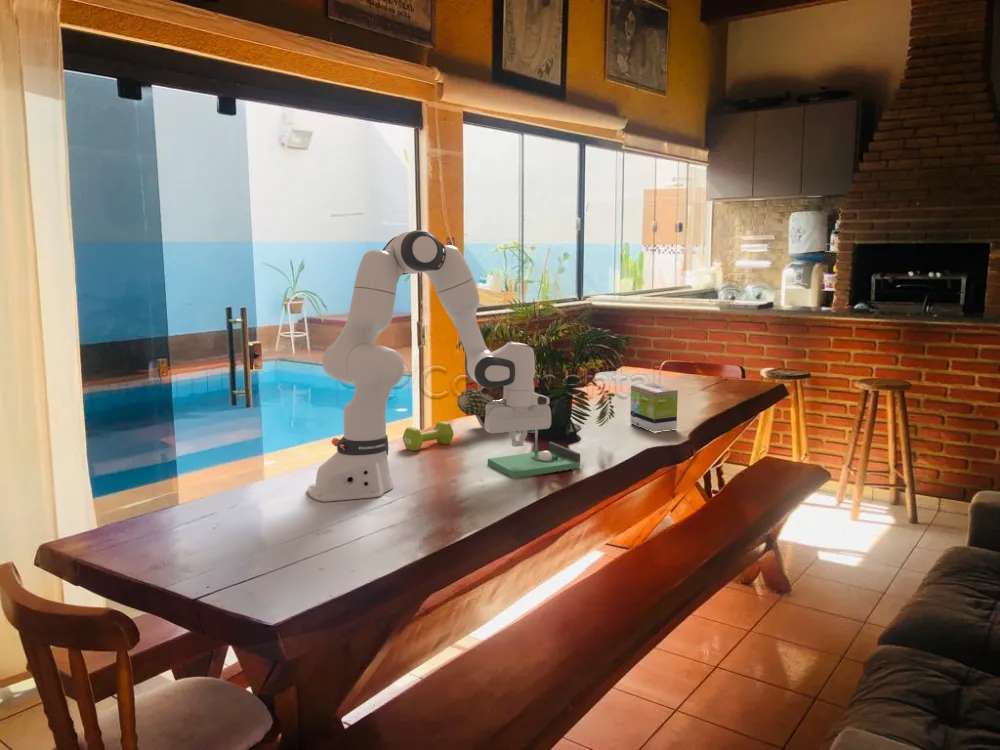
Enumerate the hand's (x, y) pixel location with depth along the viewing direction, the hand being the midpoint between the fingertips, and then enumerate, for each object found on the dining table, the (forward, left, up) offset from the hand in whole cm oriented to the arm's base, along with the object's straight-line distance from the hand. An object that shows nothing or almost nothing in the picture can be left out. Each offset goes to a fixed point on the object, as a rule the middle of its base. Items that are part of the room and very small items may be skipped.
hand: (517, 445), depth 232 cm
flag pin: (+13, +8, -7) cm, 17 cm away
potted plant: (+16, +49, -7) cm, 52 cm away
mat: (+6, +1, -7) cm, 9 cm away
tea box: (+68, +24, -7) cm, 72 cm away
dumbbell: (-12, +38, -7) cm, 40 cm away
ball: (+10, +1, -5) cm, 11 cm away
